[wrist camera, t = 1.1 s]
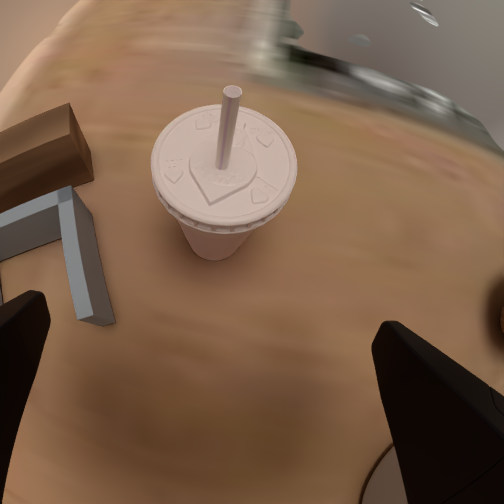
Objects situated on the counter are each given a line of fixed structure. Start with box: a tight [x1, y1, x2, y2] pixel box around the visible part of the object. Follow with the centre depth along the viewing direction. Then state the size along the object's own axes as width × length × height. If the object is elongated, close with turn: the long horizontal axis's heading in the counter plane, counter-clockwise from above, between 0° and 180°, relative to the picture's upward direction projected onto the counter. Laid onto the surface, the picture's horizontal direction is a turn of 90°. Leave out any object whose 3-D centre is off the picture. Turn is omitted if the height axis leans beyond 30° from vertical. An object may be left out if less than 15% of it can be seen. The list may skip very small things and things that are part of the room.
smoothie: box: [151, 86, 297, 261], centre depth 15 cm, size 6×6×14 cm
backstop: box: [0, 103, 94, 214], centre depth 18 cm, size 3×11×6 cm, turn 110°
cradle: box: [0, 185, 115, 326], centre depth 17 cm, size 8×10×4 cm
